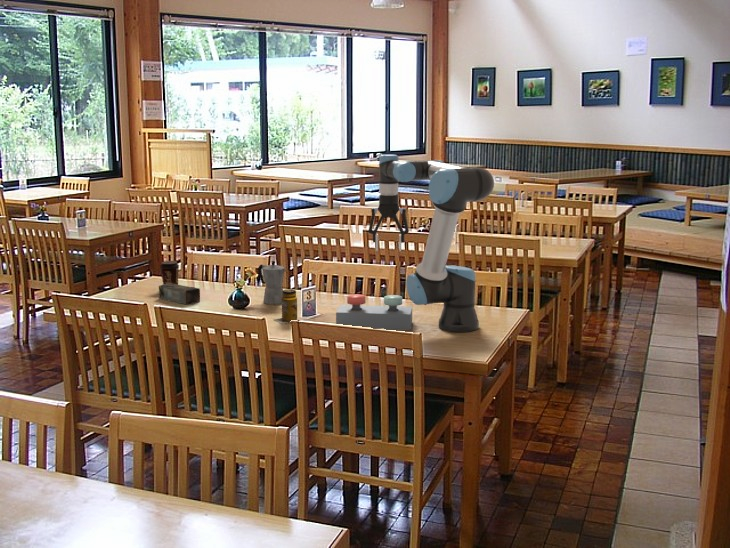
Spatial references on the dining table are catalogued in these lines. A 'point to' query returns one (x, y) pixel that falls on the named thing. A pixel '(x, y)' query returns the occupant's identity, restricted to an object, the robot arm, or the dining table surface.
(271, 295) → the coffeepot
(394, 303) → the teal button
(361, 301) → the red button
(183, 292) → the dark grey brick
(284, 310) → the condiment
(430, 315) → the dining table surface
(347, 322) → the control box
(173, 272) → the coffee cup
